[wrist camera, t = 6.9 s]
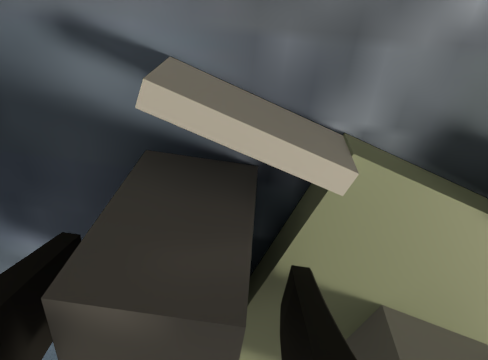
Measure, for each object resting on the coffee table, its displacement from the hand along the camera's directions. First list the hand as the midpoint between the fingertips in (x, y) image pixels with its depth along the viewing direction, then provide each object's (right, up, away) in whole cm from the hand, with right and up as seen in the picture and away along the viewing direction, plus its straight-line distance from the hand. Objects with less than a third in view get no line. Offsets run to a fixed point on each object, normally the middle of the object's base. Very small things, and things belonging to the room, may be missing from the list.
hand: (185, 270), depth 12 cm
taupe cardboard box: (0, +1, +2) cm, 2 cm away
